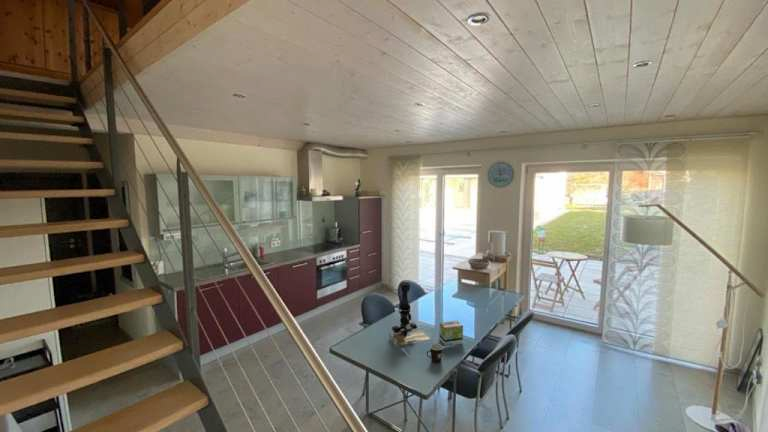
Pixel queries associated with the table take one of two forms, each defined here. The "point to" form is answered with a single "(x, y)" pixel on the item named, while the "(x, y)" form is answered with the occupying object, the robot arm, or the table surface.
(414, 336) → the trap board
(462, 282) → the table surface
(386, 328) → the table surface
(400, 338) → the walnut block
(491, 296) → the table surface
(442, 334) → the tea box
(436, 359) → the coffee mug
